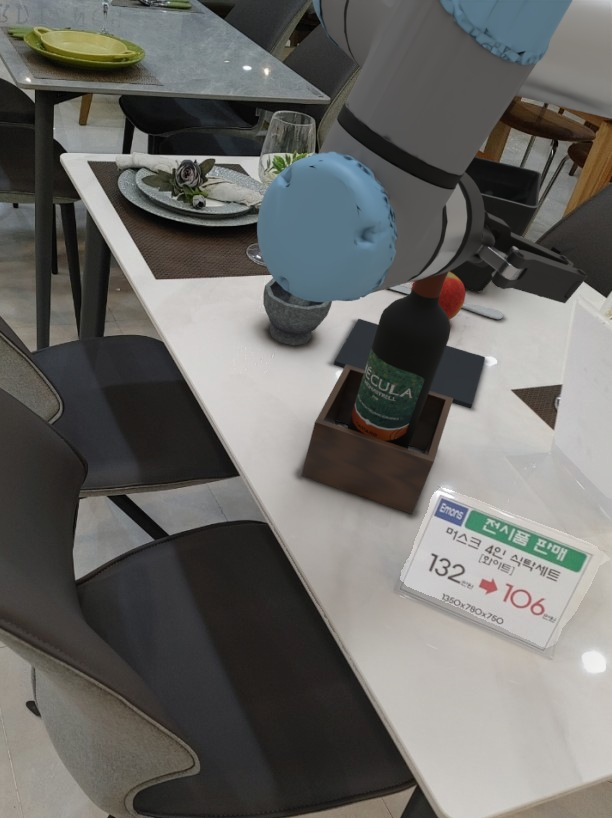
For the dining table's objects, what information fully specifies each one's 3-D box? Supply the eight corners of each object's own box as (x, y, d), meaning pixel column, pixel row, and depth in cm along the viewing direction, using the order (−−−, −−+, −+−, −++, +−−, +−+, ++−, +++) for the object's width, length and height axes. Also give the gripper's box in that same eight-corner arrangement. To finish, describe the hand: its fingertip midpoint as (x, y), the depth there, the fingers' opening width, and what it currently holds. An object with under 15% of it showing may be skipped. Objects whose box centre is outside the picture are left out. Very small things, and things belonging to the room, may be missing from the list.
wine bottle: (412, 473, 94) (504, 236, 73) (363, 488, 90) (445, 245, 70) (374, 437, 98) (451, 204, 77) (327, 450, 95) (394, 211, 74)
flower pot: (406, 236, 145) (434, 143, 134) (505, 263, 142) (542, 170, 131) (388, 277, 132) (417, 177, 120) (497, 307, 129) (537, 208, 117)
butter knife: (502, 319, 125) (503, 311, 127) (361, 279, 129) (364, 272, 131) (501, 321, 125) (502, 314, 127) (360, 281, 129) (364, 274, 131)
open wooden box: (432, 449, 98) (453, 398, 92) (412, 514, 88) (433, 461, 83) (331, 415, 100) (346, 363, 95) (301, 475, 91) (314, 421, 85)
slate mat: (483, 360, 115) (485, 357, 115) (470, 408, 106) (472, 404, 105) (357, 321, 119) (358, 318, 119) (333, 364, 109) (334, 360, 109)
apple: (393, 309, 123) (412, 250, 117) (435, 306, 126) (455, 248, 119) (419, 336, 118) (440, 276, 111) (462, 332, 121) (485, 273, 114)
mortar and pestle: (307, 359, 109) (325, 281, 101) (248, 338, 112) (261, 260, 103) (333, 326, 117) (352, 252, 109) (277, 307, 119) (291, 232, 111)
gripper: (255, 171, 57) (370, 174, 73) (525, 380, 51) (585, 333, 67) (305, 68, 52) (416, 95, 69) (607, 284, 47) (650, 258, 63)
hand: (500, 213), depth 68 cm, fingers open, 13 cm apart
